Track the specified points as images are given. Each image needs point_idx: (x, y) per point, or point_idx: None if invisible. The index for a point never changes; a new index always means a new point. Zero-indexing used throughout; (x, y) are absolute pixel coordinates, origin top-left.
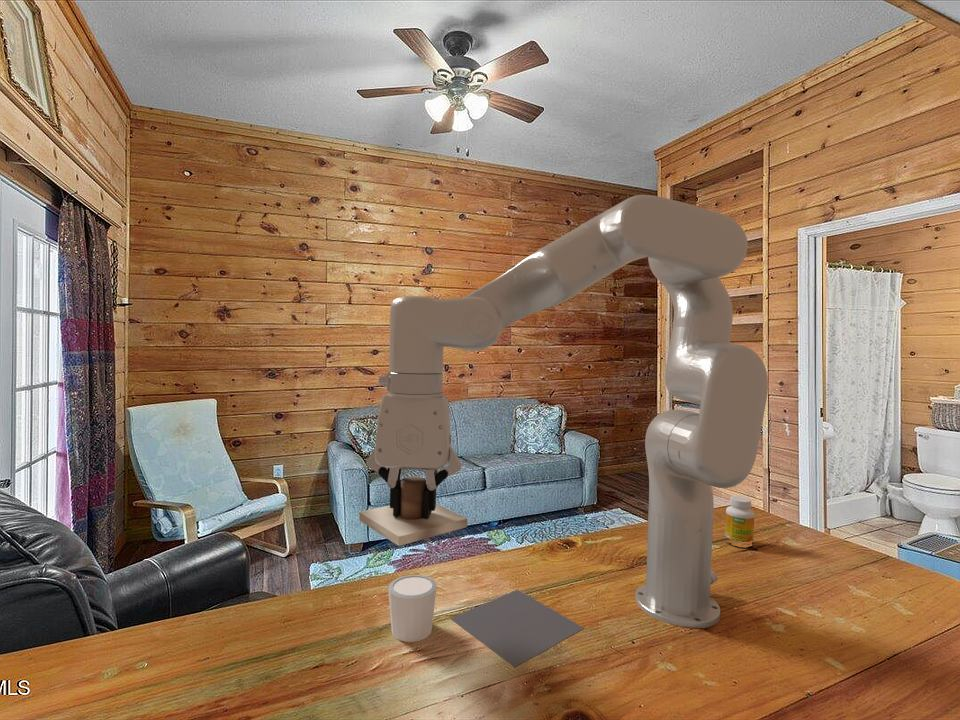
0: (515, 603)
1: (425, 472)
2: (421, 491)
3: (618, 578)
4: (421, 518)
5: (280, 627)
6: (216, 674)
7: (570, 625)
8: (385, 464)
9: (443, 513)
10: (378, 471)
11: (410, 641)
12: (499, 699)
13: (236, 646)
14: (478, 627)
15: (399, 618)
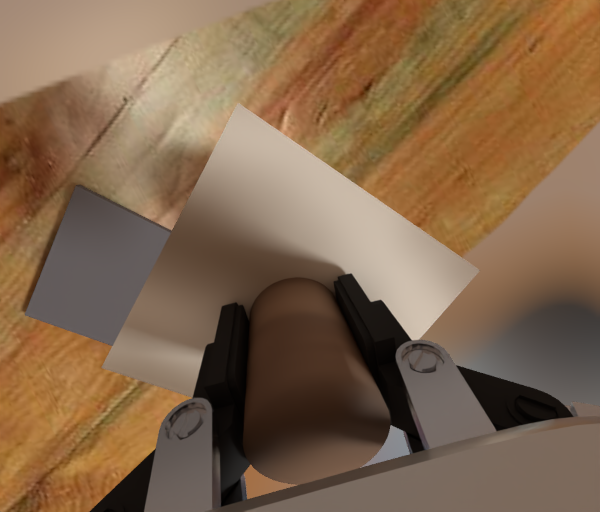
0: None
1: (210, 503)
2: (250, 380)
3: (45, 449)
4: (251, 305)
5: (464, 157)
6: (500, 16)
7: (48, 313)
8: (587, 436)
9: None
10: (560, 404)
11: None
12: (67, 111)
13: (504, 90)
14: None
15: None
